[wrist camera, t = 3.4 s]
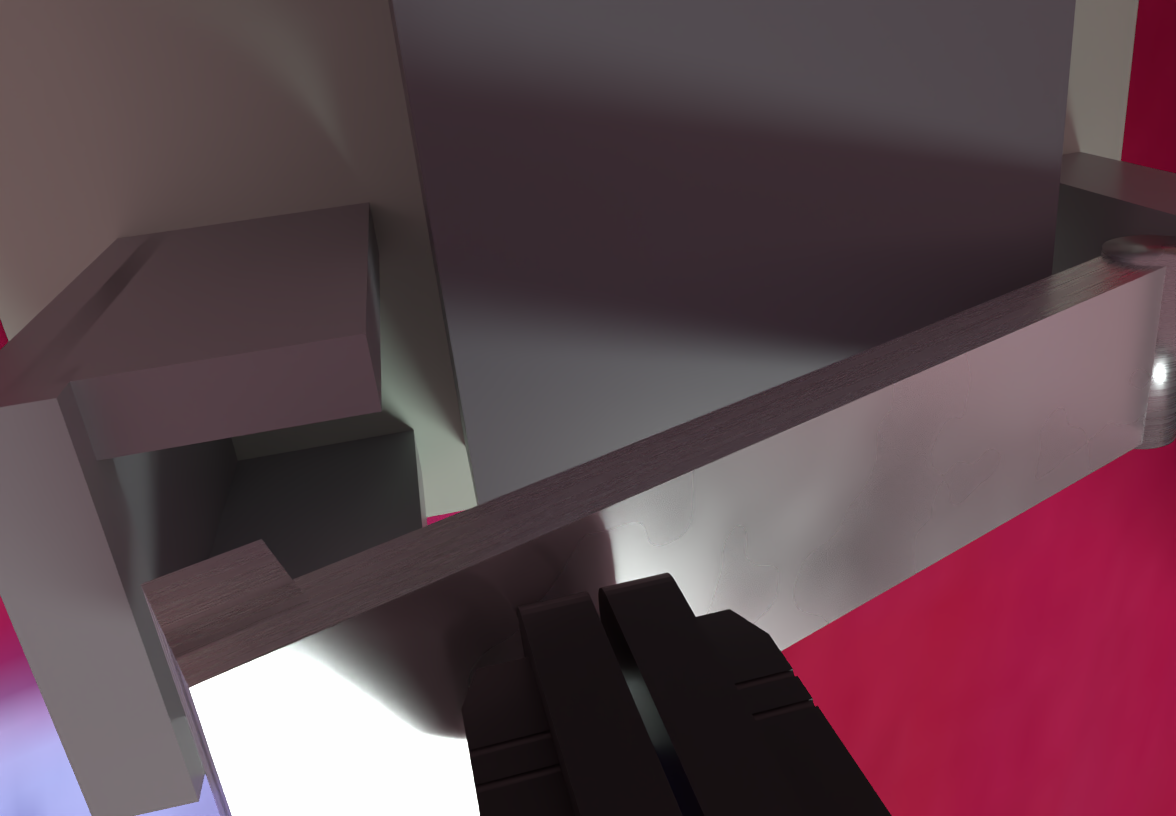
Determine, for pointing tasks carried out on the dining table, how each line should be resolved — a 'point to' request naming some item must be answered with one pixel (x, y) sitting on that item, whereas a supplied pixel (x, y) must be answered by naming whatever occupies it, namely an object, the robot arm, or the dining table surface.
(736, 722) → the robot arm
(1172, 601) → the dining table surface
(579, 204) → the base
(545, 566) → the grey hinged latch bar
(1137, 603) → the dining table surface
